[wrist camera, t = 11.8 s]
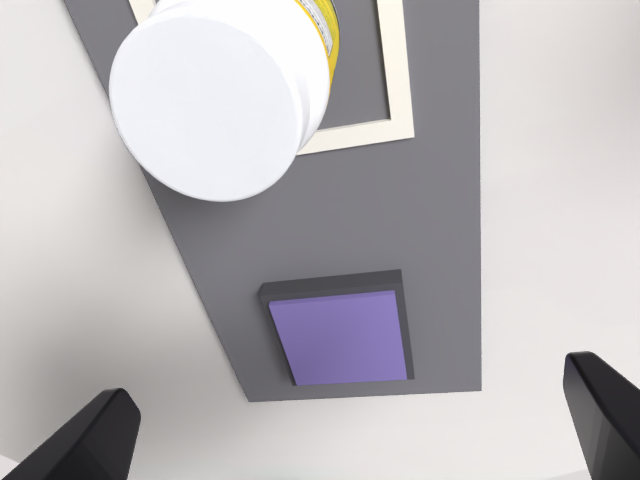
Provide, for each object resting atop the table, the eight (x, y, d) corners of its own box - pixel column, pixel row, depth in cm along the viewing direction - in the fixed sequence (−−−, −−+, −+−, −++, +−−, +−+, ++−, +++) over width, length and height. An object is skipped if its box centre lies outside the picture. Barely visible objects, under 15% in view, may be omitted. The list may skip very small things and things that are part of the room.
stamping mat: (250, 393, 29) (244, 420, 28) (25, -108, 15) (-15, -111, 13) (479, 382, 26) (486, 410, 25) (473, -241, 12) (488, -265, 11)
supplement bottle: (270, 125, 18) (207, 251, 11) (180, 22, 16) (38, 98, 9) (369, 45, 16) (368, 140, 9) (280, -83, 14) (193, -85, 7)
